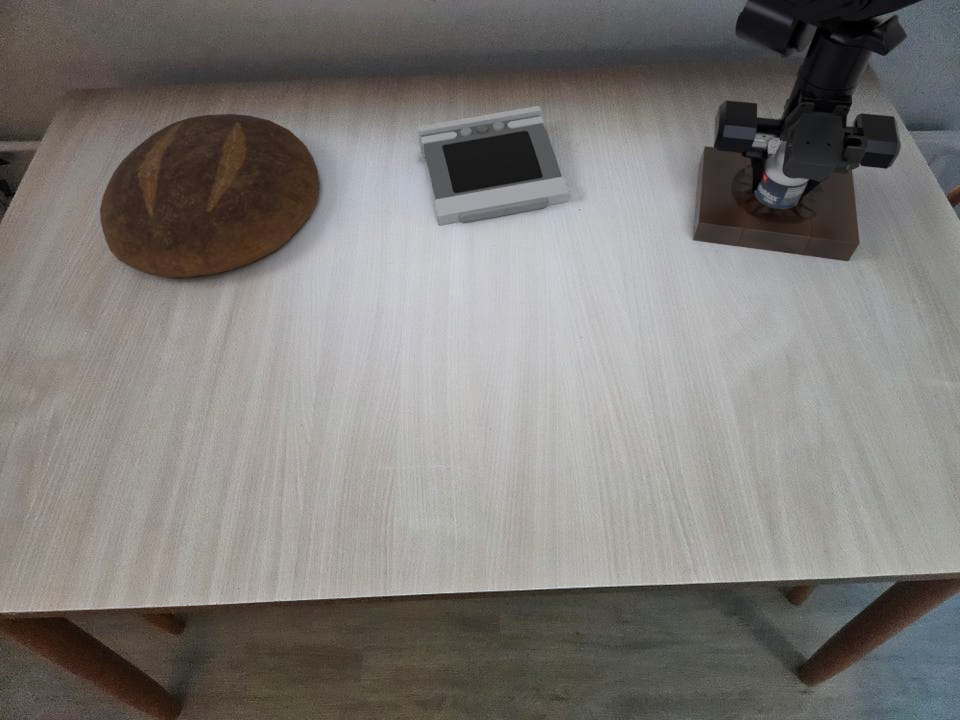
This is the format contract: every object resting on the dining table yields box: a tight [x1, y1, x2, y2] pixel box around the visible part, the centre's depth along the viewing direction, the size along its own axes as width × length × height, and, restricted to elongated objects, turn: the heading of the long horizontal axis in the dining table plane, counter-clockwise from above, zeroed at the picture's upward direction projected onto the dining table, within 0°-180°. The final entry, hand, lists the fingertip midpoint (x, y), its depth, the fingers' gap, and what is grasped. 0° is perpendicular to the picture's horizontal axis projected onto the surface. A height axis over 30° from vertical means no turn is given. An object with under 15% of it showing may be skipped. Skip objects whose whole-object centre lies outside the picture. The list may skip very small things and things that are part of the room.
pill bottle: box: [753, 141, 809, 209], centre depth 77 cm, size 5×5×9 cm
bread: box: [99, 113, 321, 278], centre depth 83 cm, size 28×27×9 cm
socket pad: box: [692, 145, 860, 262], centre depth 80 cm, size 18×14×3 cm
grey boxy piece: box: [417, 105, 571, 226], centre depth 86 cm, size 17×5×16 cm
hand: (778, 190), depth 79 cm, fingers closed on pill bottle, 5 cm apart
